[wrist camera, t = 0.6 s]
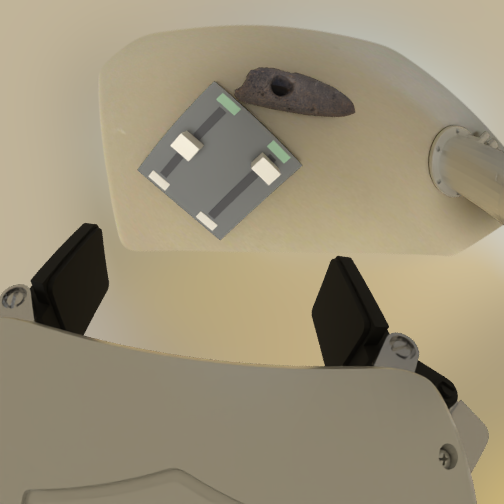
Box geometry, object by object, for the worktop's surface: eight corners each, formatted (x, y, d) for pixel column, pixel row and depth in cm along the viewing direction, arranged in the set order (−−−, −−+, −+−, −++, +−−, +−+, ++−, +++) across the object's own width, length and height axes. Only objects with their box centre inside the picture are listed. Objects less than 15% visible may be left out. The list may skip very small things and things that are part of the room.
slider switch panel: (216, 82, 30) (213, 81, 28) (299, 162, 36) (302, 165, 34) (142, 166, 36) (136, 170, 34) (221, 234, 42) (220, 240, 40)
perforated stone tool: (351, 94, 31) (371, 93, 25) (342, 127, 33) (360, 134, 27) (243, 65, 29) (240, 57, 23) (235, 101, 32) (231, 100, 26)
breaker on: (262, 152, 33) (263, 156, 30) (278, 168, 34) (280, 174, 31) (251, 162, 34) (251, 168, 31) (267, 178, 35) (268, 185, 32)
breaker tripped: (187, 130, 31) (180, 133, 29) (204, 145, 33) (199, 149, 30) (177, 141, 32) (170, 145, 29) (193, 156, 33) (188, 161, 31)
